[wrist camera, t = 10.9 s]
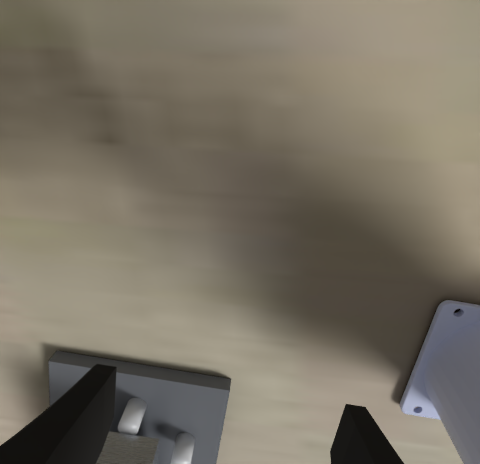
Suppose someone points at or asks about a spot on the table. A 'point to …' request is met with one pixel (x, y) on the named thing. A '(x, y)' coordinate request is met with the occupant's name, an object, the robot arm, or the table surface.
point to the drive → (129, 449)
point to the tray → (156, 405)
